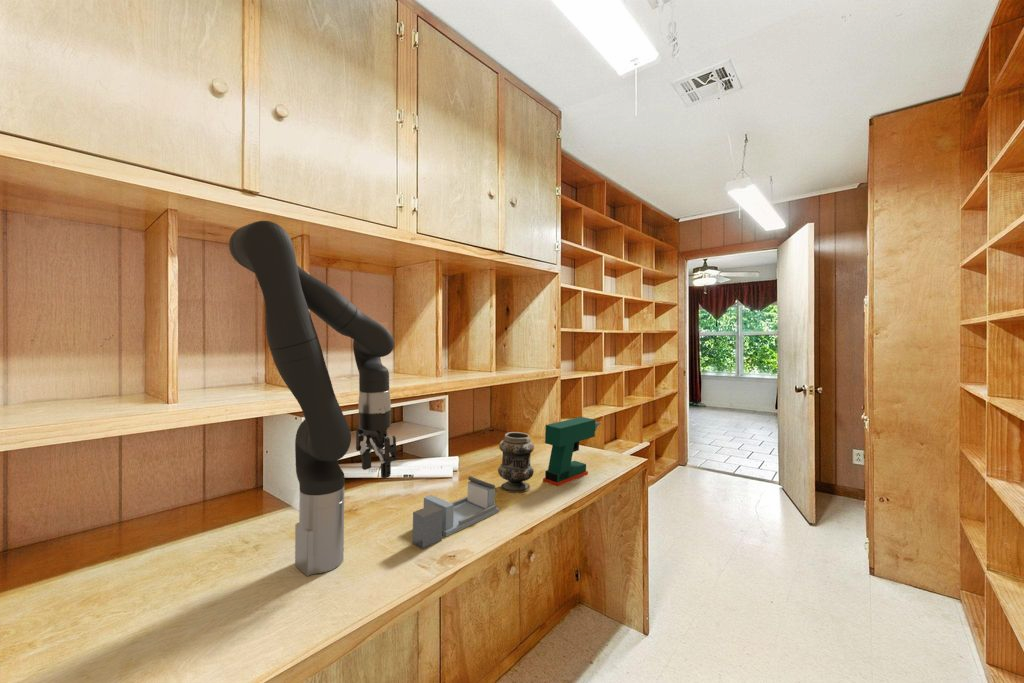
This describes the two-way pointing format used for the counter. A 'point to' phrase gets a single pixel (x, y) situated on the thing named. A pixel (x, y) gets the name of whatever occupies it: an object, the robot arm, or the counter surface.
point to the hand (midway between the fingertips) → (376, 473)
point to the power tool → (567, 448)
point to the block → (427, 526)
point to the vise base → (459, 513)
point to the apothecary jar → (516, 462)
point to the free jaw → (481, 493)
